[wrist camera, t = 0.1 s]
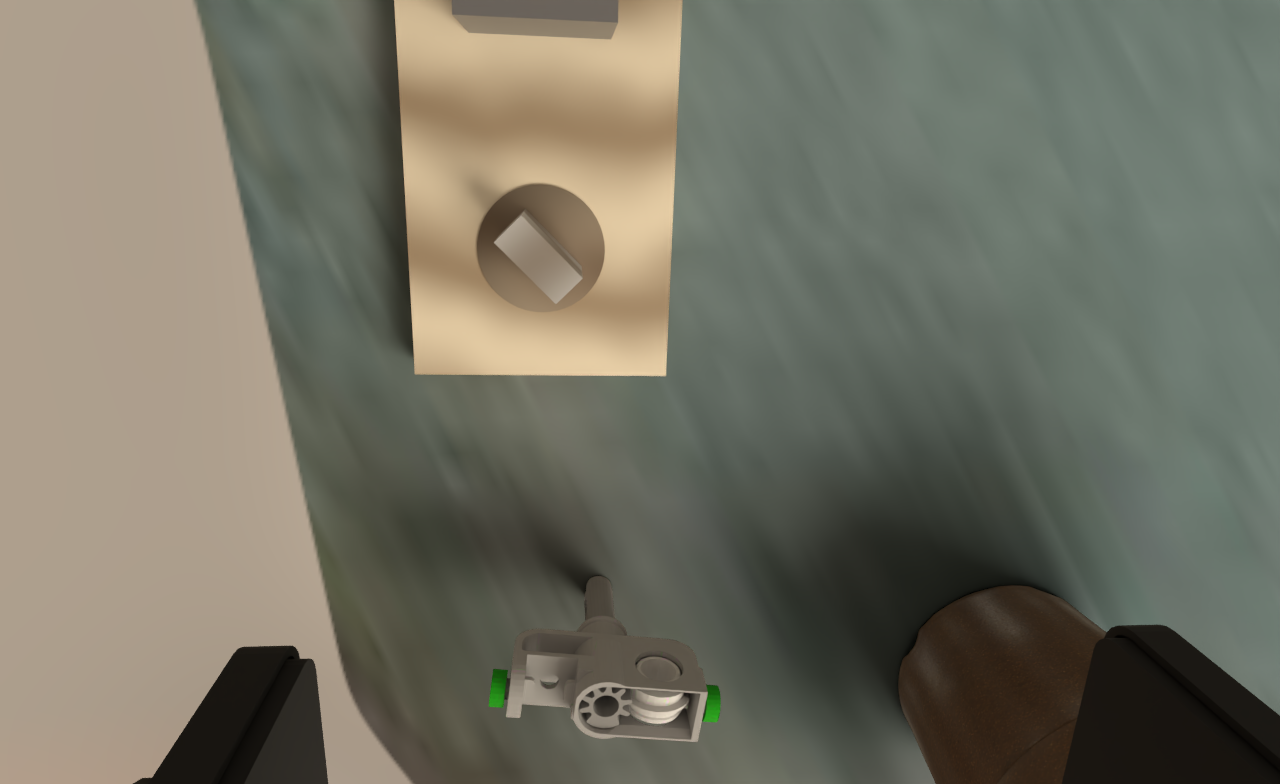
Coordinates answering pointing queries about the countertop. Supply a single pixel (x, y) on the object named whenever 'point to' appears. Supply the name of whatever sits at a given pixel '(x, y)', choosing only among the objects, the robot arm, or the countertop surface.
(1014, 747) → the plant pot
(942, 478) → the countertop surface
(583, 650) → the mechanical component
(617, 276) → the light wood flat block
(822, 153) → the countertop surface
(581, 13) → the grey and orange block
